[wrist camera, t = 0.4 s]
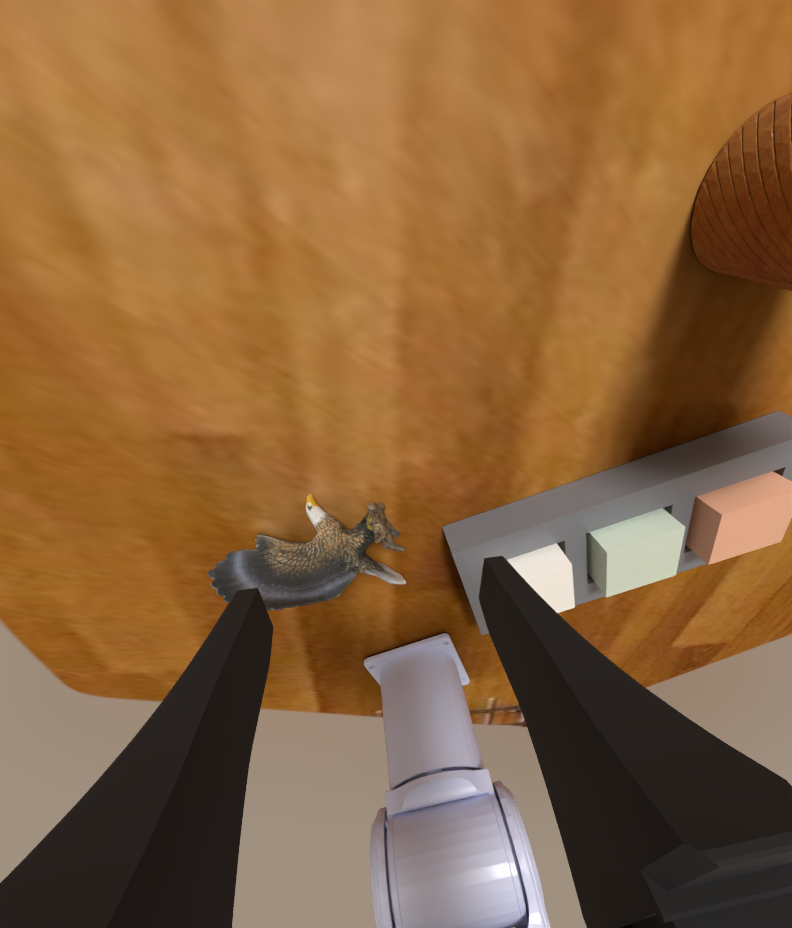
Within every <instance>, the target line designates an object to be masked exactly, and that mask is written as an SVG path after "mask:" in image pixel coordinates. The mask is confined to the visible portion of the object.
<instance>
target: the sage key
mask: <svg viewBox="0 0 792 928" xmlns="http://www.w3.org/2000/svg"><path fill="white" fill-rule="evenodd" d="M684 532H685V526H684V525H682V524H681V523H680V522H679V521H677V520H676V519H675V518H674V517H673V516H671V515H670V514H669V513H668V512H667V511H665V510H664V509H663V508H661V509H658V510H655V511H652V512H649V513H646V514H643V515H640V516H637V517H634V518H631V519H628V520H625V521H622V522H619V523H616V524H613V525H610V526H607V527H604V528H601V529H598V530H595V531H592V532H589V533H586V548H587V572H588V574H589V575H590V576H591V578H592V579H593V580H594V582H595V583H596V584H597V586H598V587H599V588H600V590H601V591H602V592H603V594H604V595H605V596H606V597H609V596H612V595H615V594H619V593H622V592H625V591H628V590H631V589H634V588H637V587H640V586H644V585H647V584H650V583H653V582H656V581H659V580H662V579H666V578H669V577H672V576H675V575H676V572H677V567H678V562H679V557H680V552H681V547H682V542H683V537H684Z"/></svg>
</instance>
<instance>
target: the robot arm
mask: <svg viewBox="0 0 792 928" xmlns="http://www.w3.org/2000/svg"><path fill="white" fill-rule="evenodd" d="M479 602H480V605H481V609H482V612H483V615H484V619H485V622H486V625H487V628H488V631H489V634H490V636H491V638H492V641H493V643H494V646H495V648H496V650H497V653H498V655H499V658H500V660H501V662H502V665H503V667H504V669H505V672H506V674H507V676H508V679H509V681H510V684H511V686H512V688H513V691H514V693H515V695H516V698H517V700H518V703H519V705H520V708H521V710H522V713H523V716H524V718H525V721H526V724H527V727H528V730H529V733H530V737H531V739H532V743H533V746H534V749H535V752H536V754H537V758H538V761H539V764H540V767H541V771H542V774H543V777H544V780H545V783H546V787H547V790H548V793H549V797H550V800H551V803H552V807H553V810H554V814H555V817H556V820H557V824H558V827H559V830H560V834H561V837H562V841H563V844H564V848H565V851H566V855H567V859H568V862H569V866H570V869H571V873H572V877H573V881H574V884H575V888H576V892H577V895H578V899H579V903H580V906H581V911H582V915H583V918H584V920H585V923H586V926H587V928H792V786H791V785H790V784H789V783H788V782H787V780H785V779H783V778H782V777H780V776H779V775H777V774H775V773H774V772H772V771H770V770H769V769H767V768H765V767H764V766H762V765H760V764H759V763H757V762H756V761H754V760H752V759H751V758H749V757H747V756H746V755H744V754H742V753H741V752H739V751H737V750H736V749H734V748H733V747H731V746H729V745H728V744H726V743H724V742H723V741H721V740H720V739H718V738H717V737H715V736H714V735H712V734H711V733H709V732H708V731H706V730H704V729H703V728H702V727H700V726H699V725H697V724H696V723H694V722H692V721H691V720H689V719H688V718H687V717H685V716H684V715H682V714H681V713H680V712H678V711H677V710H675V709H674V708H673V707H671V706H670V705H668V704H667V703H666V702H664V701H663V700H661V699H660V698H659V697H657V696H656V695H654V694H653V693H652V692H650V691H649V690H647V689H646V688H645V687H643V686H642V685H641V684H639V683H638V682H637V681H636V680H634V679H633V678H632V677H630V676H629V675H628V674H627V673H625V672H624V671H623V670H621V669H620V668H619V667H618V666H616V665H615V664H614V663H613V662H612V661H610V660H609V659H608V658H607V657H605V656H604V655H603V654H602V653H601V652H599V651H598V650H597V649H596V648H595V647H594V646H592V645H591V644H590V643H589V642H588V641H587V640H586V639H585V638H583V637H582V636H581V635H580V634H579V633H578V632H577V631H576V630H575V629H574V628H572V627H571V626H570V625H569V624H568V623H567V622H566V621H565V620H564V619H563V618H562V617H561V616H560V615H559V614H558V613H557V612H556V611H555V610H554V609H553V608H552V607H551V606H550V605H549V604H548V603H547V602H546V601H545V600H544V599H543V598H542V597H541V596H540V595H539V594H538V593H537V592H536V591H535V590H534V589H533V588H532V587H531V586H530V585H529V584H528V583H527V582H526V581H525V580H524V578H523V577H522V576H521V575H520V574H519V573H518V572H517V571H516V570H515V569H514V568H513V566H512V565H511V564H510V563H509V562H508V561H507V560H506V559H505V558H504V557H503V556H497V557H489V558H484V563H483V570H482V577H481V584H480V591H479ZM272 635H273V625H272V623H271V620H270V618H269V615H268V612H267V610H266V607H265V605H264V602H263V599H262V597H261V594H260V592H259V589H258V588H252V589H244V590H237V592H236V593H235V594H234V596H233V597H232V599H231V600H230V602H229V604H228V605H227V607H226V609H225V610H224V612H223V613H222V615H221V617H220V618H219V620H218V621H217V623H216V625H215V626H214V628H213V629H212V631H211V632H210V634H209V635H208V637H207V639H206V640H205V642H204V643H203V645H202V646H201V648H200V649H199V650H198V652H197V653H196V655H195V656H194V658H193V659H192V661H191V662H190V664H189V665H188V667H187V668H186V670H185V671H184V672H183V674H182V675H181V677H180V678H179V679H178V681H177V682H176V683H175V685H174V686H173V688H172V689H171V690H170V692H169V693H168V694H167V696H166V697H165V699H164V700H163V701H162V703H161V704H160V705H159V707H158V708H157V709H156V711H155V712H154V713H153V714H152V716H151V717H150V718H149V720H148V721H147V722H146V723H145V725H144V726H143V727H142V729H141V730H140V731H139V732H138V733H137V735H136V736H135V737H134V738H133V739H132V741H131V742H130V743H129V744H128V745H127V747H126V748H125V749H124V750H123V751H122V753H121V754H120V755H119V756H118V757H117V758H116V760H115V761H114V762H113V763H112V764H111V765H110V767H109V768H108V769H107V770H106V771H105V772H104V773H103V775H102V776H101V777H100V778H99V779H98V781H97V782H96V783H95V784H94V785H93V786H92V787H91V788H90V789H89V791H88V792H87V793H86V794H85V795H84V796H83V797H82V798H81V799H80V801H79V802H78V803H77V804H76V805H75V806H74V807H73V808H72V809H71V810H70V811H69V812H68V813H67V815H66V816H65V817H64V818H63V819H62V820H61V821H60V822H59V823H58V824H57V825H56V826H55V827H54V828H53V829H52V830H51V831H50V832H49V834H48V835H47V836H46V837H45V838H44V839H43V840H42V841H41V842H40V843H39V844H38V845H37V846H36V847H35V848H34V849H33V850H32V851H31V852H30V853H29V855H28V856H27V857H26V858H25V859H24V860H23V861H22V862H21V863H20V864H19V865H18V866H17V867H16V868H15V869H14V870H13V871H12V872H11V873H10V874H9V875H8V876H7V877H6V878H5V879H4V880H3V881H2V882H1V883H0V928H232V918H233V907H234V896H235V885H236V875H237V863H238V854H239V845H240V835H241V826H242V817H243V808H244V800H245V792H246V784H247V776H248V768H249V762H250V757H251V751H252V745H253V740H254V736H255V731H256V726H257V722H258V717H259V712H260V707H261V703H262V698H263V693H264V688H265V683H266V678H267V674H268V669H269V664H270V655H271V646H272ZM364 666H365V667H366V669H367V670H368V671H369V672H370V674H371V675H372V676H373V677H374V679H375V680H376V681H377V682H378V684H379V685H380V686H381V695H382V707H383V718H384V729H385V740H386V751H387V762H388V774H389V785H390V791H387V792H386V793H385V797H386V807H385V808H381V809H379V811H378V813H377V816H376V818H375V820H374V822H373V825H372V830H371V841H370V860H371V862H370V863H371V883H372V896H373V905H374V913H375V920H376V926H377V928H512V927H515V928H551V927H550V924H549V920H548V917H547V913H546V909H545V906H544V897H543V892H542V888H541V883H540V879H539V875H538V871H537V867H536V864H535V860H534V856H533V853H532V850H531V846H530V843H529V840H528V836H527V833H526V830H525V827H524V824H523V821H522V818H521V815H520V812H519V810H518V807H517V804H516V801H515V799H514V797H513V795H512V793H511V791H510V790H509V789H508V788H506V787H505V786H504V785H503V784H502V782H501V781H496V782H493V785H492V781H491V778H490V774H489V770H488V769H487V768H484V764H483V760H482V757H481V753H480V749H479V746H478V742H477V738H476V735H475V731H474V728H473V724H472V720H471V716H470V713H469V709H468V705H467V702H466V698H465V694H464V691H463V687H462V686H464V685H467V684H468V683H469V682H470V680H469V677H468V675H467V673H466V671H465V668H464V666H463V664H462V662H461V660H460V658H459V656H458V653H457V651H456V649H455V647H454V645H453V643H452V641H451V638H450V636H449V635H448V634H446V633H443V634H440V635H437V636H434V637H430V638H427V639H424V640H421V641H418V642H415V643H412V644H409V645H406V646H403V647H399V648H396V649H393V650H390V651H387V652H384V653H381V654H378V655H375V656H372V657H368V658H366V659H365V660H364Z"/></svg>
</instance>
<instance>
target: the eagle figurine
mask: <svg viewBox="0 0 792 928" xmlns="http://www.w3.org/2000/svg"><path fill="white" fill-rule="evenodd" d="M384 508H385V506H384V503H382V502H381V503H380V504H375V503H374V502H371V503H370V504H369V505H367V510H368V512H367V514H366V516H365V517H364V518H363V520H362V521H361V522H360V523H359V524H357V525H356V526H355V527H354V528H352V529H349V530H347V529H345V528H344V527H343V526H342V525H341V524H340V523H339V522H338V521H337V520H336V519H334V518H333V517H331V516H330V515H328V514H327V513H326V512H325V511H323V510H322V509H321V507H320V506H319V505H318V504H317V503H316V502H315V500H314V499H313V496H312V494H309V495H308V496H307V505H306V511H307V514H308V516H309V518H310V520H311V522H312V523H313V525H314V527H315V529H316V531H317V534H316V536H315V537H314V538H313V539H312V540H311V541H309V542H307V543H298V542H290V541H283V540H279V539H276V538H273V537H269V536H266V535H260V534H258V535H257V538H258V539H256V540H255V542H256V543H257V545H256V549H247V550H239V551H234V552H231V553H228V554H227V555H226V559H225V560H223V561H220V562H218V563H216V564H215V568H214V569H212V570H210V571H209V572H208V575H209V576H210V578H212V579H214V580H213V582H211V586H212V587H213V588H214V589H216V591H217V595H219V596H223V597H224V601H225V602H230V600H231V599H232V597H233V596H234V594H235V593H236V592H237V590H244V589H252V588H258V589H259V592H260V594H261V597H262V599H263V602H264V605H265V607H266V610H267V611H270V610H281V609H284V608H291V607H295V606H304V605H310V604H312V603H316V602H322V601H327V600H330V599H333V598H336V597H338V596H339V595H340V594H341V593H342V592H343V591H344V590H345V589H346V587H347V586H348V585H349V584H350V583H351V582H352V579H354V578H355V577H356V575H357V574H358V573H362V574H368V575H374V576H378V577H379V578H381V579H382V580H384V581H386V582H388V583H394V584H406V581H405V580H404V579H403V577H402V575H401V574H399V573H397V572H395V571H393V570H392V569H390V568H389V567H387V566H386V565H384V564H382V563H379V562H376V561H374V560H373V559H371V558H370V557H369V556H367V555H366V554H365V550H366V548H367V547H368V546H369V544H371V543H372V542H373V541H374V540H375V543H379V542H380V541H381V540H382V543H383V546H384V547H385V548H386V549H392V550H396V551H401V552H402V551H406V548H404V547H402V546H399V545H397V544H395V542H394V541H393V539H392V536H391V535H393V536H396V537H399V535H400V534H399V531H398V530H396V529H393V527H392V525H391V524H390V523H389V522H388V520H387V519H386V517H385V515H384Z"/></svg>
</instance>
